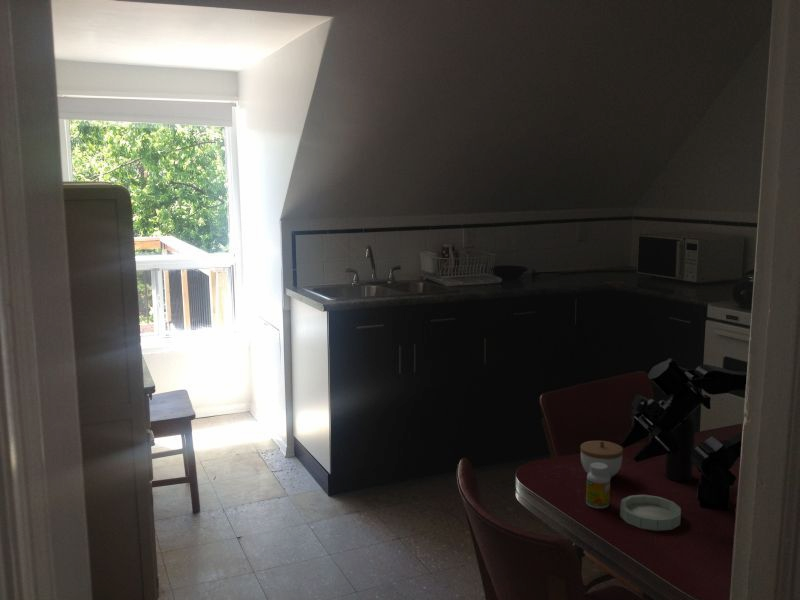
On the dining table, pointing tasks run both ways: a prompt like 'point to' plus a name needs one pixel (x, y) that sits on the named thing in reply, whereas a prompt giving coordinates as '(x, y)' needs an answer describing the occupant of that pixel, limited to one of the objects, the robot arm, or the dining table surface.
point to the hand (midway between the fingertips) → (628, 453)
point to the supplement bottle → (598, 486)
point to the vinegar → (681, 453)
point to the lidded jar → (602, 455)
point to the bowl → (650, 512)
